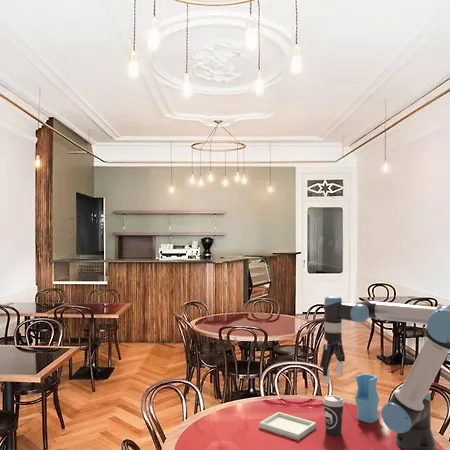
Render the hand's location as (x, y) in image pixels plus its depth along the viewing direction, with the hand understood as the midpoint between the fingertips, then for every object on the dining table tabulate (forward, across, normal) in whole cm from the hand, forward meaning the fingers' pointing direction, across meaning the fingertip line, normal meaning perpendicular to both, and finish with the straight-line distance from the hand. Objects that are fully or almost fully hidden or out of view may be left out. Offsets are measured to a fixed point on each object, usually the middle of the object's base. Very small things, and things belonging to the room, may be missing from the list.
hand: (332, 379), depth 200 cm
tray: (+23, +9, -18) cm, 31 cm away
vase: (+24, -24, +6) cm, 34 cm away
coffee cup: (+24, 0, 0) cm, 24 cm away
